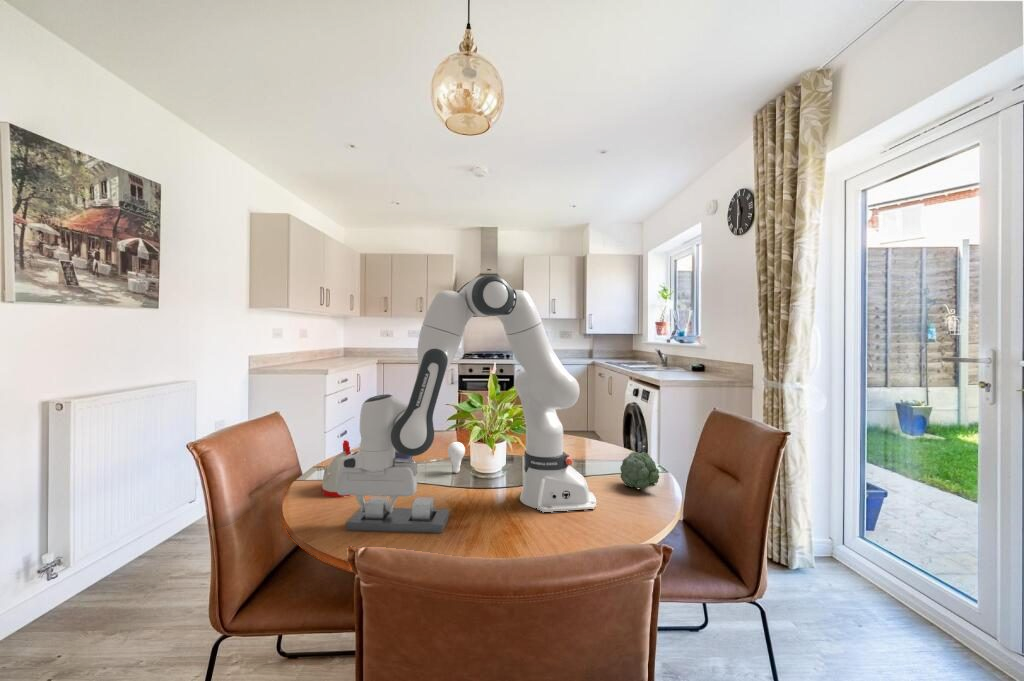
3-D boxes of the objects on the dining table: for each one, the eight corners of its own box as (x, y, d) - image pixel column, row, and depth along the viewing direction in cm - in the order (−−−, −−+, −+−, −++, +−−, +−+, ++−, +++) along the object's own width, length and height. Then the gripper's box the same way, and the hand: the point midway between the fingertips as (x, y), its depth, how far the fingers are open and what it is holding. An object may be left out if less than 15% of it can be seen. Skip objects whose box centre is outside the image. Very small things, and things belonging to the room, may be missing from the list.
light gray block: (433, 520, 105) (433, 497, 105) (429, 528, 101) (429, 504, 101) (416, 520, 106) (416, 497, 106) (411, 528, 101) (411, 504, 101)
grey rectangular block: (388, 519, 106) (388, 497, 106) (382, 528, 101) (382, 504, 101) (371, 519, 106) (371, 496, 106) (364, 527, 101) (365, 503, 101)
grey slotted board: (449, 516, 108) (449, 509, 108) (442, 532, 99) (442, 524, 99) (360, 514, 108) (360, 507, 108) (346, 530, 99) (346, 522, 99)
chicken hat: (363, 478, 136) (364, 434, 136) (374, 491, 125) (375, 443, 125) (318, 486, 129) (319, 439, 128) (325, 501, 117) (326, 449, 117)
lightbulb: (457, 477, 138) (457, 445, 138) (443, 473, 142) (444, 442, 142) (468, 472, 144) (468, 441, 144) (455, 469, 147) (455, 439, 147)
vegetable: (677, 484, 128) (652, 470, 121) (647, 505, 133) (620, 494, 125) (659, 453, 138) (634, 439, 130) (631, 474, 142) (605, 462, 135)
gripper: (420, 455, 106) (420, 507, 106) (344, 453, 107) (344, 505, 107) (414, 462, 100) (413, 517, 100) (333, 461, 101) (332, 516, 101)
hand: (377, 511), depth 104 cm, fingers open, 5 cm apart
